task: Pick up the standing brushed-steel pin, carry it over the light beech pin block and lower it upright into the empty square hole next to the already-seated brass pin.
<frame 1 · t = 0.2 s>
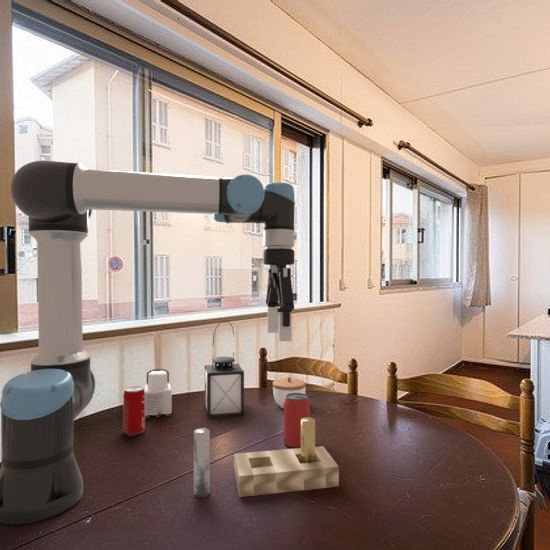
hand: (278, 336, 100), 27 cm above the table, fingers open, 13 cm apart
beer can: (296, 444, 104), on the table
lidded jar: (289, 406, 133), on the table
container: (157, 413, 127), on the table
steel pin: (201, 492, 80), on the table
brass pin: (307, 476, 87), resting in pin block
soda can: (134, 432, 111), on the table
pin block: (284, 479, 86), on the table
lantern: (223, 411, 129), on the table
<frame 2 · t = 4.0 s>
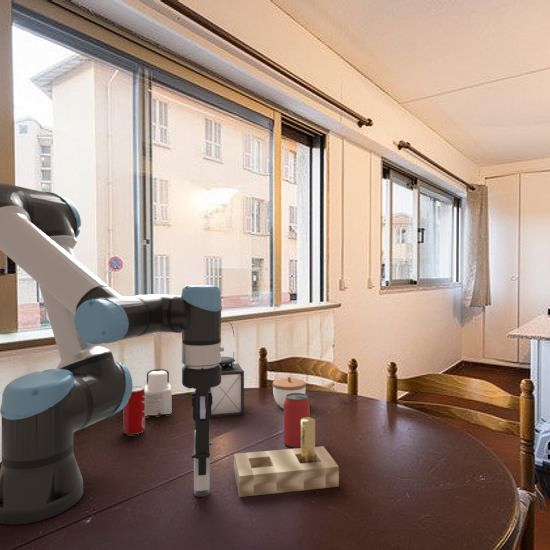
hand: (201, 484, 80), 2 cm above the table, fingers closed on steel pin, 3 cm apart
steel pin: (201, 492, 81), on the table, touching gripper
everything else where it was.
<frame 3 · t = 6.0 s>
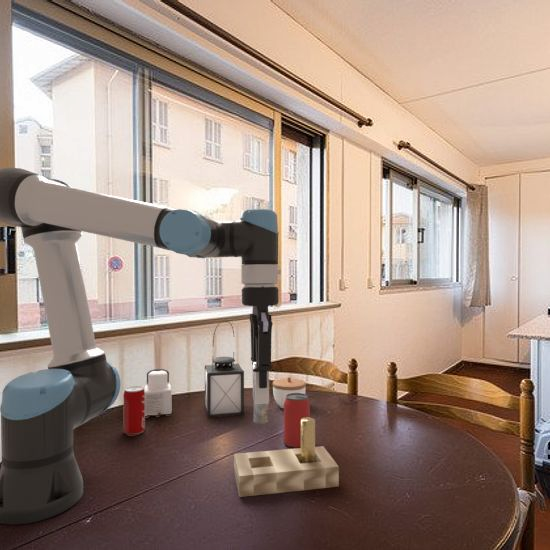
hand: (260, 400, 85), 17 cm above the table, fingers closed on steel pin, 3 cm apart
steel pin: (261, 420, 85), point 13 cm above the table, touching gripper
everything else where it was.
when the fingers open (5 cm above the table, at t = 8.2 s): steel pin stays where it is, resting in pin block.
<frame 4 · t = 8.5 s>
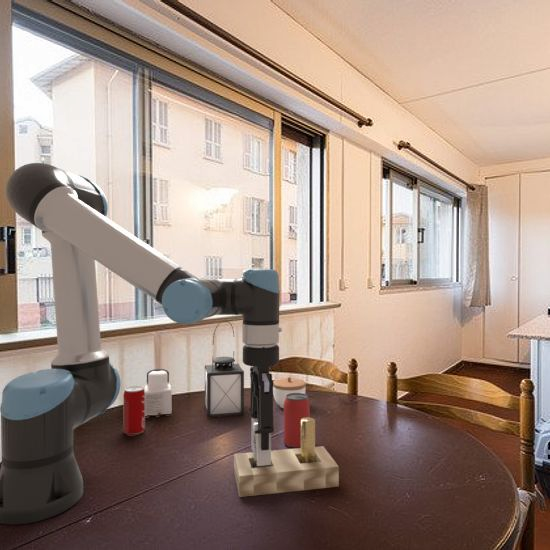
hand: (260, 456, 85), 5 cm above the table, fingers open, 7 cm apart
steel pin: (260, 481, 85), resting in pin block
everything else where it was.
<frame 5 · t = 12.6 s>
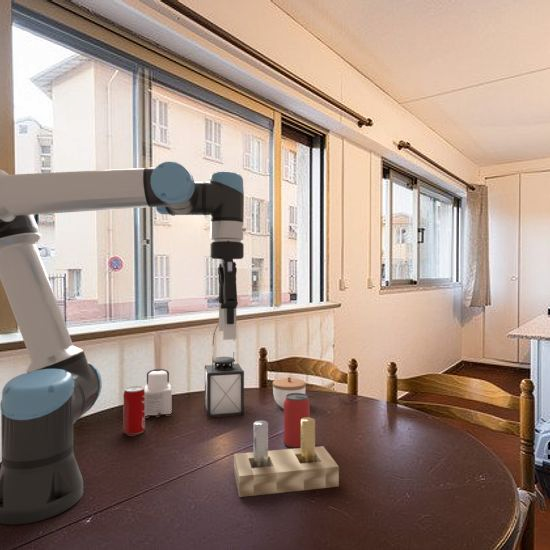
hand: (227, 334, 94), 29 cm above the table, fingers open, 13 cm apart
nothing on the table moved.
at the end: steel pin 0.1 cm from the target spot on the pin block, point 0.0 cm above the pin block's base; steel pin tilted 0°; the gripper is holding nothing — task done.
